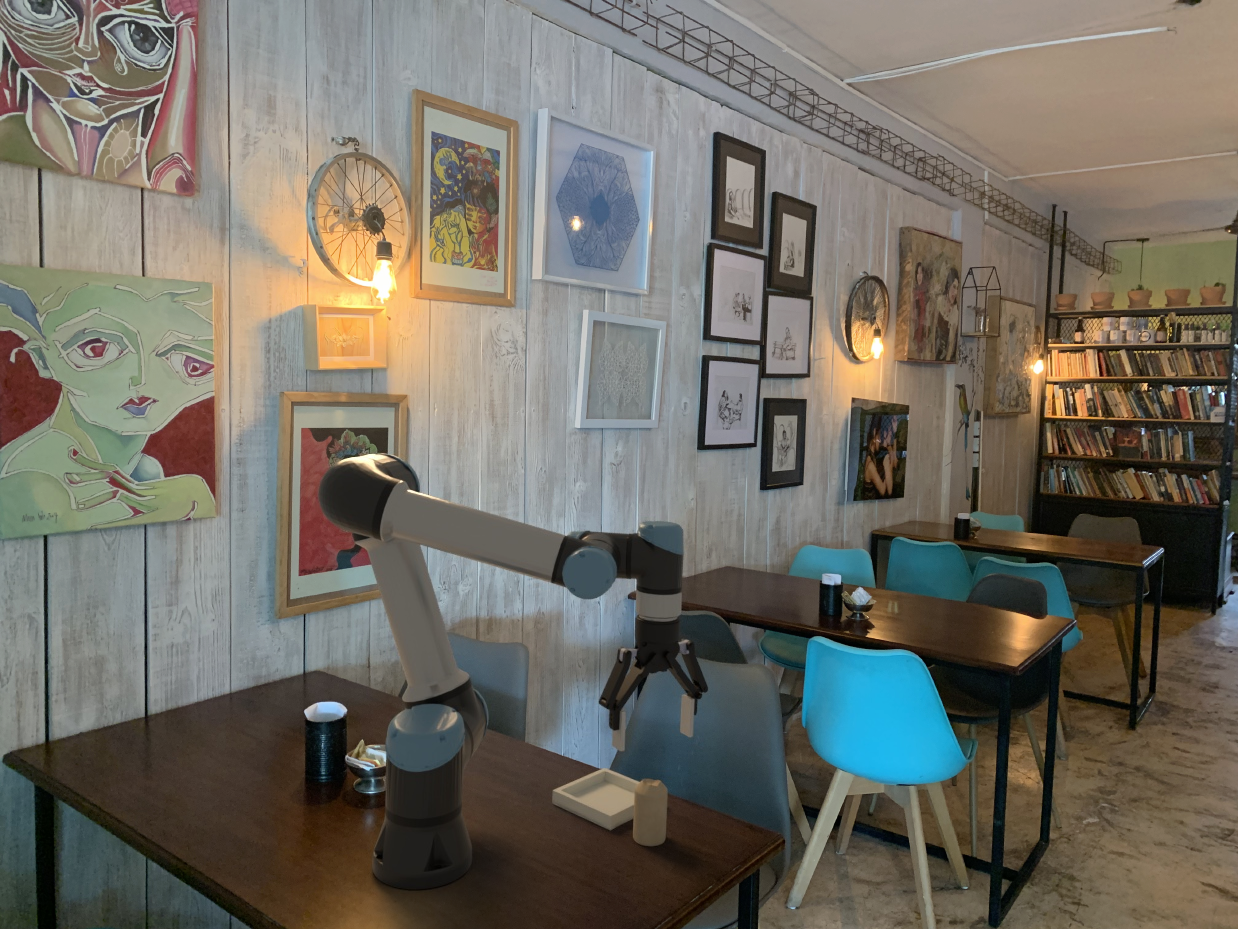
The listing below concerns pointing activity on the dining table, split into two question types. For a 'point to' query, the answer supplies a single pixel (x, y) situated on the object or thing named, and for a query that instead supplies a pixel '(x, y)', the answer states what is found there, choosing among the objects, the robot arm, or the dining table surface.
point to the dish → (599, 798)
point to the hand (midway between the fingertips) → (653, 741)
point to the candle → (650, 812)
